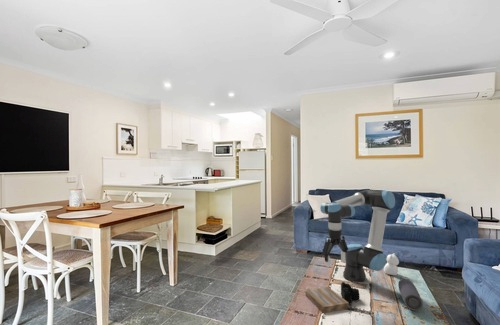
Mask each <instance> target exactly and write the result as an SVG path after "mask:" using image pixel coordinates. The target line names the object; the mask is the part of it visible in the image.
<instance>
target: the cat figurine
mask: <svg viewBox="0 0 500 325" xmlns="http://www.w3.org/2000/svg"><path fill="white" fill-rule="evenodd" d="M399 264H400V261H399V258H398V256H396V253H395V252H394V253H392V254H388V255H387V256H386V264H385V266H384V268H383V269H382V270H383V271H384V274H387V275H390V276H397V275H398V272H399V270H398V265H399Z"/></svg>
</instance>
